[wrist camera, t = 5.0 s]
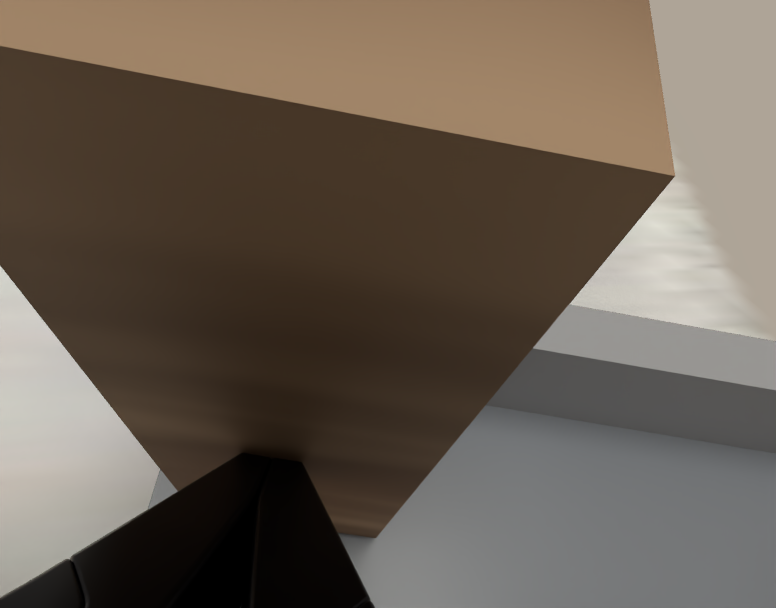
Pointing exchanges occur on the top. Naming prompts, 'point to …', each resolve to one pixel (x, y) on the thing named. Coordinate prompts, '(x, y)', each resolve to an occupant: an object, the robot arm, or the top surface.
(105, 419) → the top surface
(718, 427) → the grey stepped base
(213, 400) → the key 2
